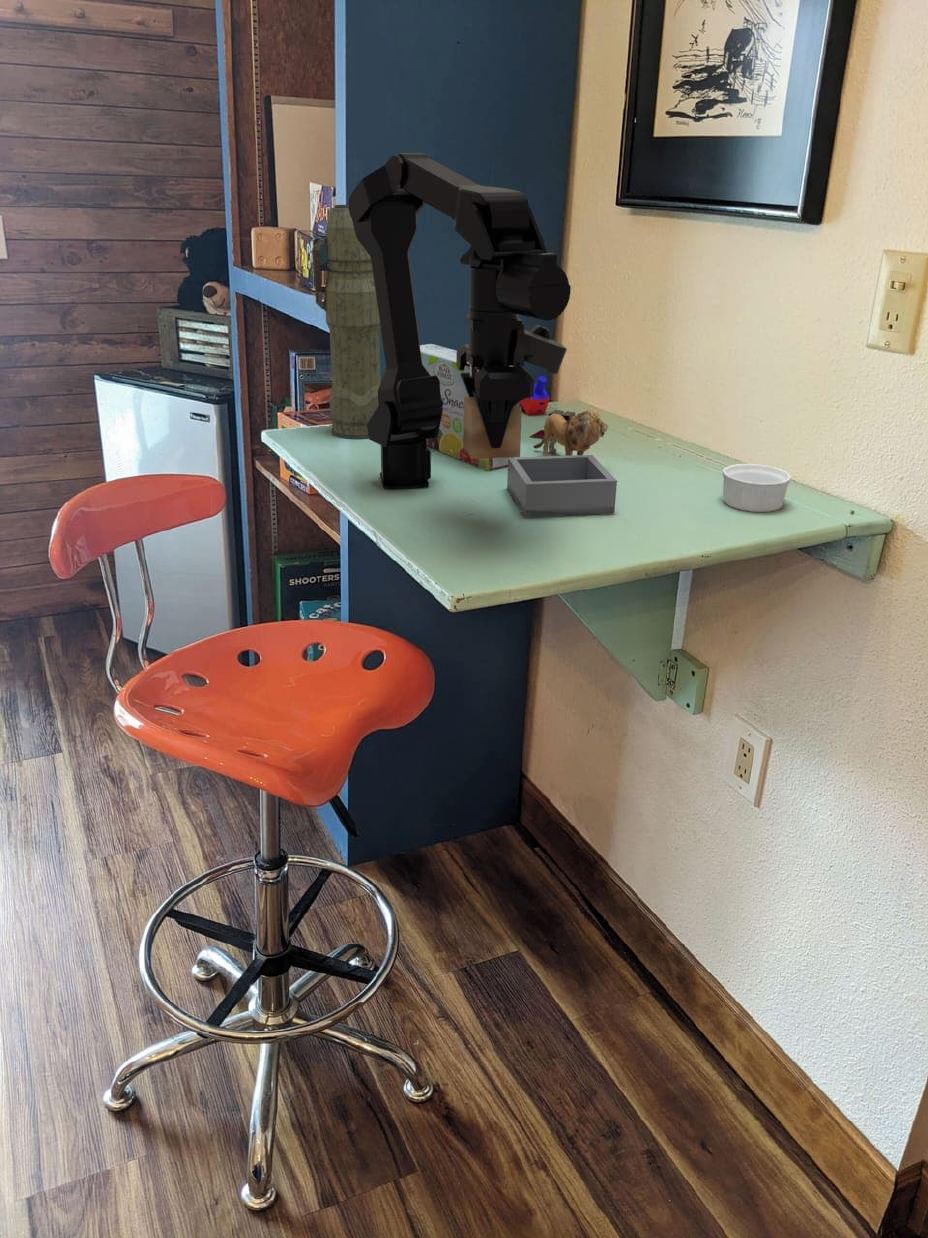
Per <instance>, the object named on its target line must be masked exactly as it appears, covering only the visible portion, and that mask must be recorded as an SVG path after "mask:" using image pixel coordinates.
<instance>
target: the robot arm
mask: <svg viewBox="0 0 928 1238" xmlns="http://www.w3.org/2000/svg"><path fill="white" fill-rule="evenodd" d="M529 202H530V201H529V199H528V197H527V196H526V195H525V194H524V193H523V192H522V191H520V190H515V189H509V188H506V187H496V186H487V185H486V186H485V185H481V184H478V183H476V182H474V181H473V180H470V179H469V178H466V177H465V176H463V175H461V174H459V173H457V172H456V171H454V170H452V169H450V168H449V167H447V166H445V165H443V164H441V163H439V162H437V161H436V160H434V158H433V157H431V155H428V154H427V153H424V152H408V153H407V152H397V153H396V154H395V155H391V156H390V157H389V159H388V160H387V161H386V163H385V164H384V165H383V166H381V167H379V168H377V169H376V170H374V171H373V172H370V173H369V174H367V175H366V176H364V177H363V178H362V179H361V180H360V182H359V183H358V184H357V185H356V187H355V188H354V189H353V191H352V192H351V193H350V196H349V198H348V204H347V205H348V207H349V214H350V216H351V218H352V221H353V226H354V230H355V235H356V238H357V239H358V240H359V242H360V243H361V245H362V246H363V247H364V249H365V250H366V251H367V253H368V254H369V255H370V257H371V261H372V268H373V276H374V283H375V290H376V297H377V304H378V312H379V319H380V334H381V339H382V347H383V348H382V349H383V353H384V362H385V371H384V374H383V376H382V379H381V380H380V386H379V388H378V407H377V409H376V411H375V412H374V414H373V415H372V417H371V419H370V420H369V422H368V424H367V429H368V434H369V438H368V439H369V440H370V441H371V442H374V443H376V444H378V445H380V470H381V471H380V472H379V478H380V482H381V485H382V488H383V489H407V488H408V489H411V488H427V487H428V488H429V486H430V481H429V480H431V479H432V453H431V449H430V447H428V446H427V441H426V439H436V438H437V436H438V432H439V427H440V422H441V418H442V413H443V408H442V406H443V402H442V399H441V394H440V381H439V379H438V377H437V376H436V375H435V376H431V375H430V374H429V372H428V371H427V370H426V368H425V367H424V366H423V363H422V358H421V350H420V345H421V344H420V335H419V328H418V321H417V314H416V305H415V298H414V291H413V290H414V289H413V288H414V287H413V283H412V282H413V281H412V274H411V266H410V260H409V258H410V257H409V251H410V247H411V245H412V243H413V240H414V237H415V235H416V233H417V230H418V225H417V223H418V222H417V219H418V218H417V215H418V214H419V213H420V212H421V210H423V208H424V207H425V206H426V205H429V206H431V207H432V208H434V209H435V210H437V211H439V212H440V213H442V214H444V215H446V216H447V217H449V218H450V219H451V220H452V221H453V225H454V226H453V227H454V231H455V232H456V233H457V234H458V235H459V236H460V238H462V239H463V240H464V241H465V242H466V244H468V245H469V246H470V247H469V249H468V250H466V251H465V252H464V253H463V255H462V256H461V257H460V259H459V262H460V264H462V265H466V266H469V307H468V308H469V311H468V313H469V314H466V316H465V317H466V323H465V324H466V325H467V326H468V328H469V329H468V330H469V331H468V332H469V333H468V336H469V337H468V339H469V340H468V343H464V344H462V345H461V346H460V347H459V349H458V350H456V351H457V357H456V366H457V368H458V369H459V370H464V368H465V366H467V373H461V374H460V376H461V378H462V381H463V383H464V386H465V388H466V391H467V394H468V396H469V397H474V398H475V401H476V404H477V407H478V410H479V413H480V416H481V418H482V421H483V424H484V427H485V430H486V433H487V436H488V439H489V442H490V445H491V447H492V448H500V447H501V445H502V441H503V438H504V434H505V431H506V427H507V424H508V421H509V417H510V414H511V411H512V408H513V407H514V406H515V405H516V404H517V403H518V402H520V401H521V400H524V399H525V398H531V397H534V384H535V380H534V378H533V377H532V376H531V375H530V374H529V373H528V372H527V371H526V370H525V369H524V368H523V367H525V362H526V363H528V364H531V365H534V366H537V367H539V368H543V369H544V370H545V369H546V370H547V372H548V373H550V374H554V375H558V372H559V370H560V368H561V365H562V363H563V360H564V358H565V355H566V353H567V351H568V348H566V346H564V345H563V344H561V343H560V342H557V340H554V339H551V333H550V330H549V329H548V327H544V326H542V325H539V324H534V325H533V326H532V327H531V328H530V329H529V330H527V329H525V322H524V321H523V320H522V319H521V318H519V316H523V317H527V318H528V317H529V318H533V319H537V320H541V321H547V322H548V321H552V320H555V319H557V318H559V316H561V315H562V314H563V312H564V311H565V310H566V308H567V307H568V304H569V301H570V298H571V289H572V286H571V285H570V282H569V279H568V276H567V274H566V272H565V271H564V270H563V268H561V267H560V266H559V265H558V255H557V253H553V252H548V251H547V248H546V246H545V239H544V238H543V235H542V234H541V232H540V229H539V226H538V223H537V221H536V219H535V216H534V213H533V211H532V208H531V207H530V204H529Z"/></svg>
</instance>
